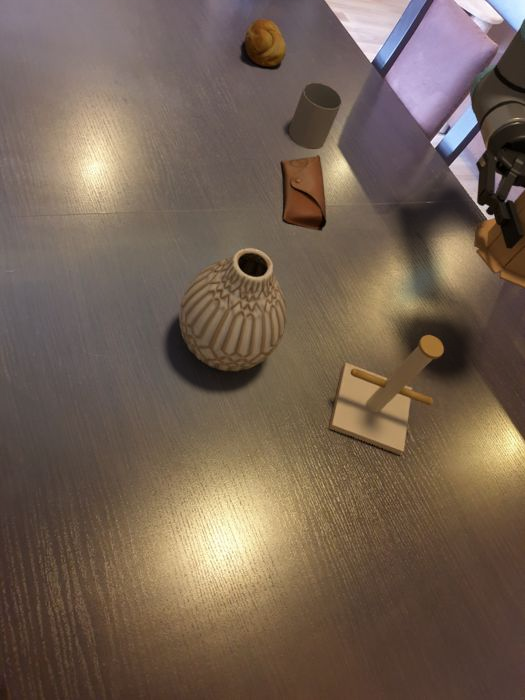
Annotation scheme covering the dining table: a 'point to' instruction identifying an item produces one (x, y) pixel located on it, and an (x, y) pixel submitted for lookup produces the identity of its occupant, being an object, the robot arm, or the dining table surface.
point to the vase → (234, 312)
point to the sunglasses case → (304, 192)
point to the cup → (314, 115)
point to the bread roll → (265, 43)
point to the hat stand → (381, 399)
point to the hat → (503, 247)
